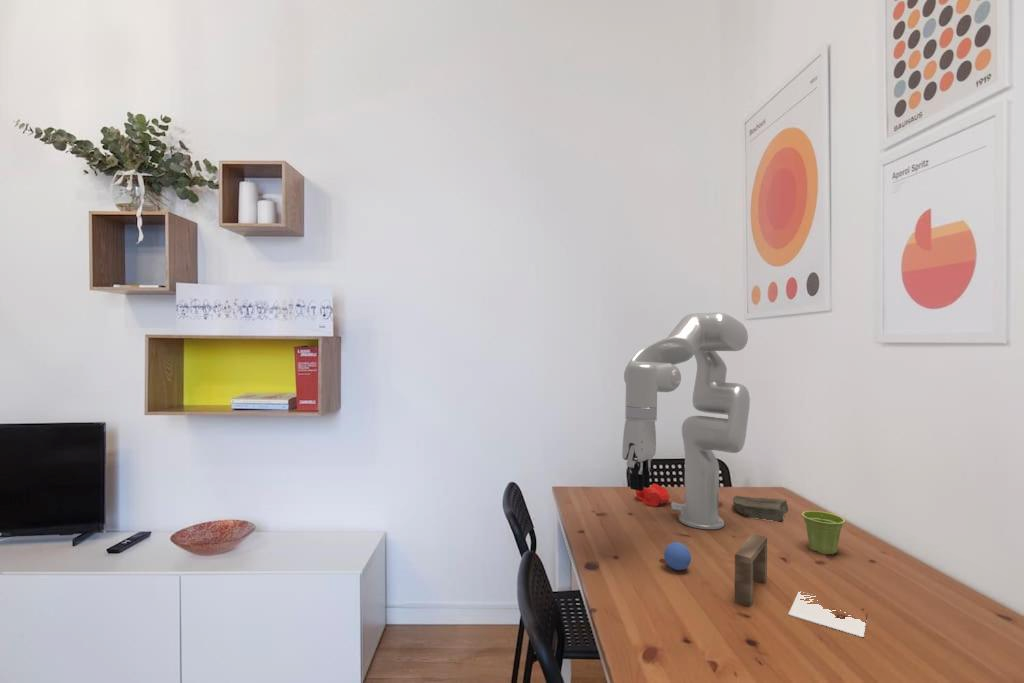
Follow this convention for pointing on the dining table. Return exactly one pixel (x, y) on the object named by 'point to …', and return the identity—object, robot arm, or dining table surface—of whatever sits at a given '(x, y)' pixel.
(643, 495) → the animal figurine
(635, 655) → the dining table surface
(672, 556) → the ball
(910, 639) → the dining table surface
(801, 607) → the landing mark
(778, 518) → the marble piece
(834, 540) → the plant pot
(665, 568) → the dining table surface
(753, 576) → the bridge
